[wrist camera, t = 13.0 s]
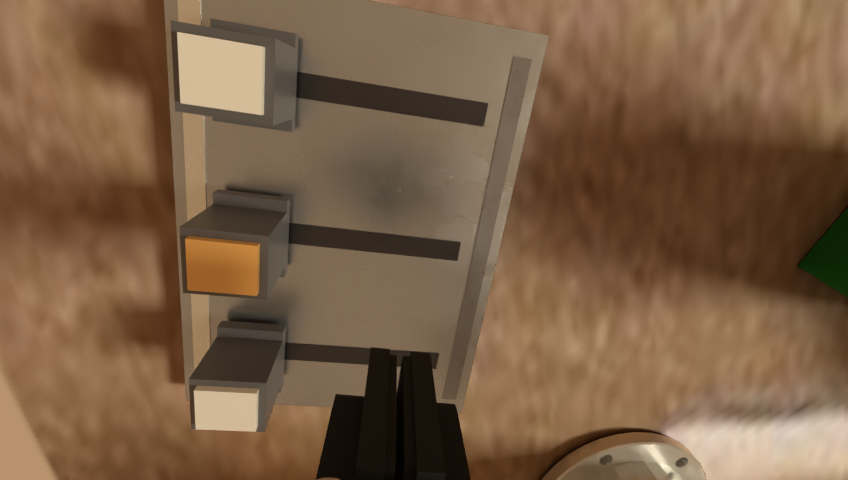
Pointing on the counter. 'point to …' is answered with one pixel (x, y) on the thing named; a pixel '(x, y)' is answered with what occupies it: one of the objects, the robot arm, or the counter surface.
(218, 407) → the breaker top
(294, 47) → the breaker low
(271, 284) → the block
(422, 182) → the panel
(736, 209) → the counter surface
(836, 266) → the milk carton
